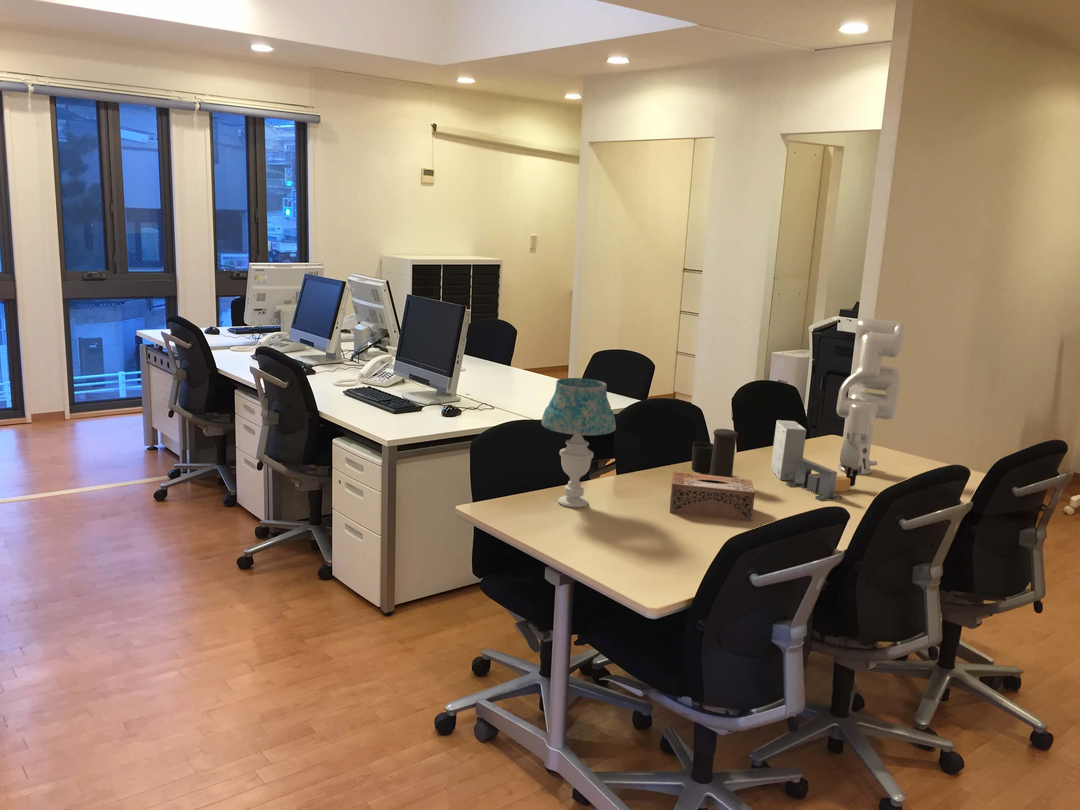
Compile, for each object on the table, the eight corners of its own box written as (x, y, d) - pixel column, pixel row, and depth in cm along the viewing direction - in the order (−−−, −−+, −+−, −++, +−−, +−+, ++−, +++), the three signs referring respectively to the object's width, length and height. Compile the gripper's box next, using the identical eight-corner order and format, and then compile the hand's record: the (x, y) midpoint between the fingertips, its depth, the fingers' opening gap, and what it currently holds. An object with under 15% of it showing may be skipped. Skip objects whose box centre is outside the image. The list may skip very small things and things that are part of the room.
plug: (841, 487, 315) (843, 471, 314) (850, 491, 311) (852, 475, 310) (806, 490, 309) (808, 474, 308) (815, 494, 305) (817, 477, 304)
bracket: (808, 483, 318) (811, 457, 316) (841, 498, 302) (845, 471, 299) (786, 485, 314) (789, 458, 312) (819, 500, 298) (822, 473, 296)
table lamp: (571, 487, 295) (579, 373, 287) (624, 506, 279) (634, 385, 270) (521, 500, 279) (528, 379, 270) (574, 520, 262) (583, 393, 254)
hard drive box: (800, 481, 319) (807, 430, 315) (779, 480, 319) (786, 428, 315) (789, 470, 334) (795, 420, 330) (769, 468, 334) (775, 419, 330)
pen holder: (719, 470, 328) (721, 445, 326) (709, 475, 320) (712, 449, 318) (696, 465, 333) (698, 440, 331) (686, 470, 325) (689, 445, 323)
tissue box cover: (669, 513, 275) (672, 483, 273) (670, 499, 289) (672, 471, 287) (751, 522, 272) (754, 492, 270) (747, 508, 286) (751, 479, 283)
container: (734, 482, 313) (740, 429, 309) (729, 488, 305) (735, 434, 301) (711, 478, 317) (717, 425, 313) (705, 484, 309) (711, 430, 304)
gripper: (879, 441, 305) (872, 491, 308) (849, 431, 318) (843, 478, 322) (863, 442, 302) (856, 492, 305) (834, 432, 315) (827, 480, 319)
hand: (849, 485), depth 314 cm, fingers closed
